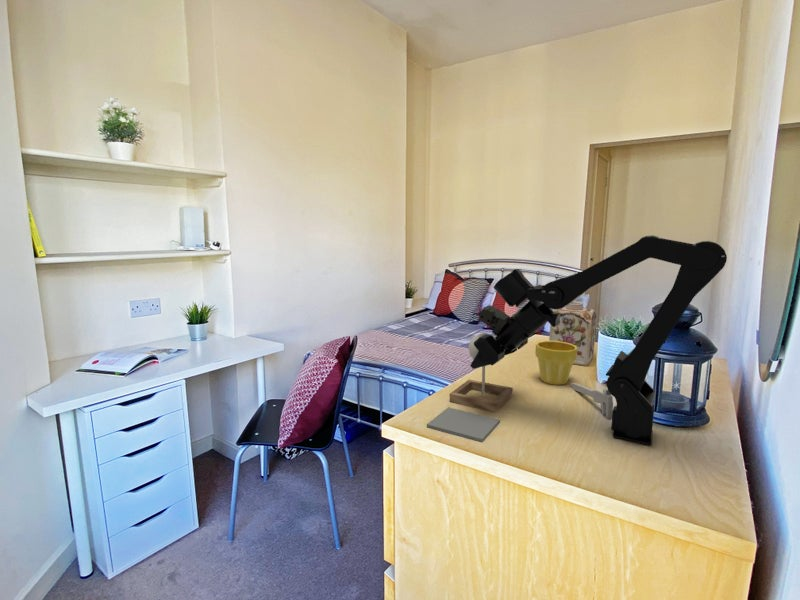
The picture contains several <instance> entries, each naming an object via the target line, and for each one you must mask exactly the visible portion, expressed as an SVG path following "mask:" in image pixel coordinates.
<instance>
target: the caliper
mask: <svg viewBox="0 0 800 600" xmlns="http://www.w3.org/2000/svg"><path fill="white" fill-rule="evenodd" d="M568 386H570V388H571V389H572V390H574V391H577V392H578V393H581V394H583V395H586V396H588V397H591V398H592V399H593V402H594V403H596V404H600V408H601V414H602V415H601V416H603V417H605V418H606V419H612V413H613V408H614V401H613V400H614V398H613V397H614V396H612V395H611V393H610V392H609V391H608V388H603V389H602V391H601V390H599V389H591V388H589V387H587V386H584V385H582V384H579V383H577V382H571V383H569V385H568Z"/></svg>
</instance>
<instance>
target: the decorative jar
mask: <svg viewBox="0 0 800 600" xmlns="http://www.w3.org/2000/svg"><path fill="white" fill-rule="evenodd" d="M552 310H553V311H554V312H560V324H558V325H557V326H555V327H553V326H552V325H551V324H550V323H549V324H550V325H549V336H548V338H549V339H548V341H560V342H566V343H570V344H573V345H575V346H576V347H577V357H576V360H575V361H574V362H573V364H572V365H576V366H583V367H588V366H589V364H590V363H591V361H592V360H593V358H594V354H595V344H596V343H595V341H596V321H597V314H596V311H595V309H593V308H589V307H584V303H583V302H581V301H575V300H574V301H573V302H572V303H570V304H568V305H567V306H565V307H563V308H560V309H556V310H554V309H552Z"/></svg>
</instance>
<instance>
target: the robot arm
mask: <svg viewBox="0 0 800 600" xmlns="http://www.w3.org/2000/svg"><path fill="white" fill-rule="evenodd" d="M648 259H655V260H659V261H663V262H666V263H671V264H675V265H677V266H678V265H679V269H678V272H677V275H676V278H675V281H674V284H673V286H672V287H671V289H670V291H669V292H668V294H667V296H666V297H665V299H664V300H663V302H662V304H661V305H660V307H659V309H658V310H657V311H656V313H655V315H654V316H653V318H652V320H650V323H649V324H648V325H647V327H646V329H645V330H644V333H643V334H642V336H641V337H640V339H639V340H638V341H637V343H636V345H635V347H633V349H632V350H631V351H630V352H629V353H625V351H623V350H620V352H619V353H618V354H617V356H616V357H615V360H614V361H613V364H612V365H611V366H610V368H609V369H608V371H606V373H605V376H606V377H607V380H606V385H605V386H606V389H608V391H609V392H610V393H611V396H612V397H614V399H615V402H616V405H615V406H614V405H613V413H612V418H611V427H610V428H611V431H613V432H612V437H613V438H617V439H620V440H625V441H630V442H634V443H639V444H643V445H646V446H647V445H648V446H652V445H653V433H654V432H653V431H654V430H653V426H654V425H653V424H654V413H655V404H653V403H654V400H655V396H656V393H657V392H656V390H655V389H653V387H652V386H651V385H650V384H649V382H647V380H646V378H647V375H648V372H649V370H650V368H651V365H652V362H653V360H654V359H655V357H656V356H657V354H658V352H659V351H660V350H661V348H662V347H663V345H664V343H665V342H666V340H667V339H668V337H669V336H670V334H671V333H672V331H673V330H674V328H675V327H676V326H677V324H678V322H679V321H680V319H681V318H682V317H683V314H684V313H685V312H686V310H687V309H688V307H689V306H690V304H691V303H692V301H693V299H694V298H695V297H696V296H697V294H699V292H701V291H702V290H703V289H704V288H706V286H707V285H708V284H709V283H710V282H711V281H712V280H713V279H714V278H715V277H716V276H717V275H718V274H719V273H720V272H721V271H722V270H723V269H724V268H725V266H726V263H727V260H728V259H727V253H726V250H725V249H724V247H722V246H721V245H720V244H718V243H717V242H714V241H711V240H702V241H698V242H696V243H689V242H685V241H679V240H678V241H677V240H673V239H668V238H662V237H659V236H656V235H654V234H653V235H646V236H645V235H644V236H642V237H641V238H639V240H638V241H636V242H634V243H632V244H631V245H628V246H627V247H624V248H622V249H621V250H619V251H617V252H615V253H614V254H611V255H610V256H608V257H606V258H605V259H602V260H600V261H599V262H597V263H595V264H593V265H591V266H589V267H588V268H586V269H584V270H581V271H579V272H576V273H573V274H571V275H567V276H565V277H564V276H563V277H561V278H559V279H555V280H553V281H548V282H547V283H546V284H544V285H543V284H538V285H535V286H534V285H533V284H532V282H530V281H529V279H527V277H526V276H525V275H524V273H523V272H522V271H521V270H520V269H519V268H516V269H515V268H514V269H513V270H512V271H511V272H510V273H508V274H506V275H505V276H504V277H503V278H500V279H499V280H498V281H496V283H495V284H494V286H493V289H494V291H496V293H497V294H498V295H499V297H501V299H503V300H504V302H505V303H506V304H507V305H508V306H509V307H512V308H513V307H516V308H520V307H521V306H522V305H523V306H522V307H521V308H520V309H519V310H518V311H517V312H516V313H515V314H512V315H511V316H509V315H508V314H507V313H506V312H504V311H503V310H501V309H499V308H497V307H495V306H493V305H491V304H490V305H486V306H483V308H482V309H481V311H479V312H478V313H477V314H478V318H477V320H478V321H479V322H480V323H483V324H486V325H487V326H488V327H490V328H492V330H491V332H492V334H493V335H494V336H493V335H491V334H490V335H484V336H481V337H479V338H478V339H477V340H476V341H475V342H474V346H475V347H476V348H477V349H478V353H477V355H476V357H475V358H474V359H473V360H472V362H471V363H470V365H469V366H470V367H471V369H472V370H474V369H478V368H482V367H483V366H485V367H487V366H495V365H496V364H497V363H499V362H500V361H501V360H503V359H504V358H505V356H508V355H510V354H513V353H515V352H517V351H518V350H520V349H522V348H524V346H526V345H528V342H529V338H531V337H532V336H533V335H535V333H536V332H537V331H538V330H539V329H540V328H542V327H543V326H544V325H545V324H546V323H549V324H551V325H552V326H553V327H555V326H557V325H558V324H560V312H554V311H553V310H556V309H560V308H563V307H565V306H567V305H568V304H570V303H572V302H573V301H574V302H575V301H576V300H577V299H579V298H580V297H581V296H583V295H584V294H585V293H587V292H588V291H589V290H590V289H592V288H593V287H595V286H597V285H598V284H601V283H602V282H605V281H606V280H609V279H610V278H612V277H614V276H616V275H618V274H620V273H622V272H624V271H626V270H627V269H630V268H632V267H633V266H636V265H638V264H640V263H641V262H644V261H646V260H648ZM527 301H528V302H527ZM526 302H527V303H526ZM492 336H493V337H495V339H494V338H493V337H492Z"/></svg>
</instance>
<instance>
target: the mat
mask: <svg viewBox="0 0 800 600" xmlns="http://www.w3.org/2000/svg"><path fill="white" fill-rule="evenodd" d="M500 423H501V419H499V418H497V417H496V418H495V417H490V416H487V415H483V414H478V413H474V412H470V411H466V410H461V409H457V408H453V407H447V408H446V409H444V410H443V411H441V412H440V413H439V414H437V415H436V416H435V417H434V418H433V419H432V420H430V421H429V422H428V423H427V424H426V428H428V429H432V430H437V431H440V432H444V433H447V434H451V435H453V436H454V435H455V436H459V437H463V438H466V439H469V440H474V441H477V442H480V443H483V442H484V441H485V440H486V439H487V437H488V436H489V435H491V433H492V432H493V431H494V430H495V429H496V428H497V426H498V425H499V424H500Z"/></svg>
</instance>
